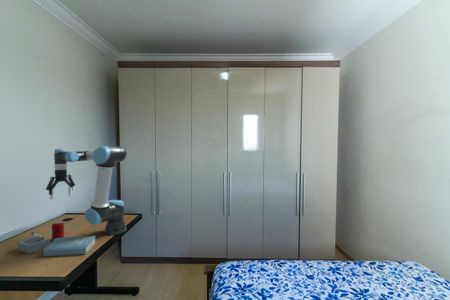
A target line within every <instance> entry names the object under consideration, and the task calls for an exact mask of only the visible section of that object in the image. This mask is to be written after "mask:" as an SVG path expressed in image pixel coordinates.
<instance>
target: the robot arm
mask: <svg viewBox="0 0 450 300" xmlns="http://www.w3.org/2000/svg"><path fill="white" fill-rule="evenodd" d="M53 155H54V156H53V157H54V159H53V160H54V176H50V178H49V181H48V184H47V186H46V188H45V190H46V191H48V195H49V199H50V200H54V198H55V196H54V191H55V190H54V188H55V187H56V186H57V185H58V183H61V182H64V183H65V184H66V185H68V196H72V195H73V191H74V190H73V188H74V187H75V186H76V184H75V182H74V180H73V178H72V175H71V174H68V170H67V169H68V168H67V167H68V164H67V163H75V162H86V161H88V162H89V161H90V162H91V161H93V162H94V163H95V165H96V167H97V174H96V175H97V176H96V182H95V183H96V184H95V191H94V199H93V202H91V204H90V208H88V209H87V210H86V211H85V218H86V220H87V222H88V223H89V224H90V225H93V226H97V225H100V224H102V223H104V222H106V223H105V228H104V229H103V233H104V234H105V235H107V236H114V235H119V234H123V233H125V232H126V231H127V225H126V222H125V202H124V201H123V200H121V199H120V200H119V199H110V200H109V195H110V188H111V182H112V176H113V175H112V174H113V169H115V167H116V163H122V162H124V161H125V159H126V158H127V155H128V152H127V150H126V148H124V147H123V146H119V145H112V146H111V145H103V146H99V147H97V148H96V149H95V150H82V151H80V150H79V151H67V149H66V148H54V154H53Z"/></svg>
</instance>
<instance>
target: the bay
mask: <svg viewBox="0 0 450 300" xmlns="http://www.w3.org/2000/svg"><path fill="white" fill-rule="evenodd" d="M56 239H57V238H55V239H53V240H52V242H53V241H55V240H56ZM49 244H51V241H50V238H47V239H44V240H43V241H39V236H35V237H32V238H31V237H29V238H26V239H23V240H20V241H17V251H20V252H23V253H25V254H29V255H31V254H34V253H36V252H38V251H42V250H44V248H46V247H47V246H48V245H49Z"/></svg>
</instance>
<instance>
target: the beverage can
mask: <svg viewBox="0 0 450 300" xmlns="http://www.w3.org/2000/svg"><path fill="white" fill-rule="evenodd" d="M55 238H65V223H64V221H62V220H57V221H54V222H53V223H52V224H51V240H52V241H53V239H55Z"/></svg>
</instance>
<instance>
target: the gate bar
mask: <svg viewBox="0 0 450 300" xmlns="http://www.w3.org/2000/svg"><path fill="white" fill-rule="evenodd" d="M35 236H39V242H40V241H43V240H45V237H44V235H40V234H37V233H35V232H34V231H33V232H31V233H30V238H32V237H35Z"/></svg>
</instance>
